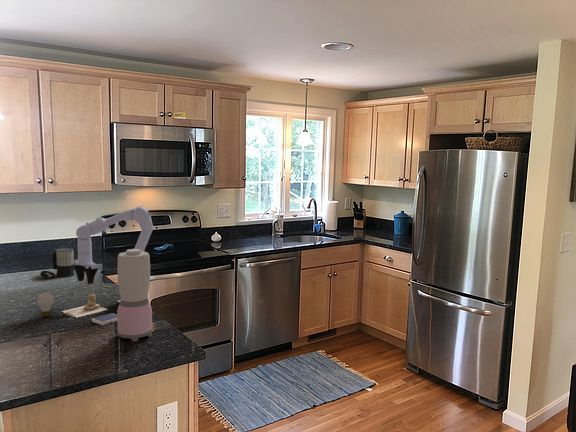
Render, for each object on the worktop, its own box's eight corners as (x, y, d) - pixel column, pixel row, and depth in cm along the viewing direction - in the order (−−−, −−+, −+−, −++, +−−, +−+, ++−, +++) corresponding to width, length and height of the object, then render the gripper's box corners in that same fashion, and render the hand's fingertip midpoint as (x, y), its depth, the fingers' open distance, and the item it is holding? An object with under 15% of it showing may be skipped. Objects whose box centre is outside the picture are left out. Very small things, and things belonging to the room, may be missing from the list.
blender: (159, 335, 174) (158, 250, 170) (129, 344, 164) (128, 254, 161) (135, 325, 184) (133, 245, 180) (106, 333, 174) (104, 249, 171)
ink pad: (112, 315, 194) (111, 312, 194) (122, 319, 190) (122, 315, 190) (92, 321, 187) (91, 317, 187) (102, 325, 183) (101, 321, 183)
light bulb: (38, 315, 193) (38, 291, 192) (54, 313, 195) (53, 290, 194) (36, 319, 188) (35, 295, 187) (53, 318, 190) (52, 294, 189)
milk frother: (78, 274, 265) (77, 248, 264) (60, 280, 250) (60, 253, 248) (55, 272, 267) (54, 247, 266) (36, 279, 252) (35, 252, 250)
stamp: (92, 306, 206) (91, 293, 205) (99, 307, 204) (99, 294, 203) (83, 309, 201) (83, 295, 201) (91, 310, 200) (91, 297, 199)
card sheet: (92, 304, 209) (92, 303, 209) (107, 309, 202) (107, 309, 202) (61, 312, 198) (61, 311, 198) (76, 318, 191) (76, 317, 191)
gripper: (67, 251, 209) (68, 281, 210) (85, 255, 200) (86, 286, 202) (82, 249, 214) (83, 278, 216) (100, 253, 206) (101, 283, 207)
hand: (85, 282), depth 209 cm, fingers open, 7 cm apart
